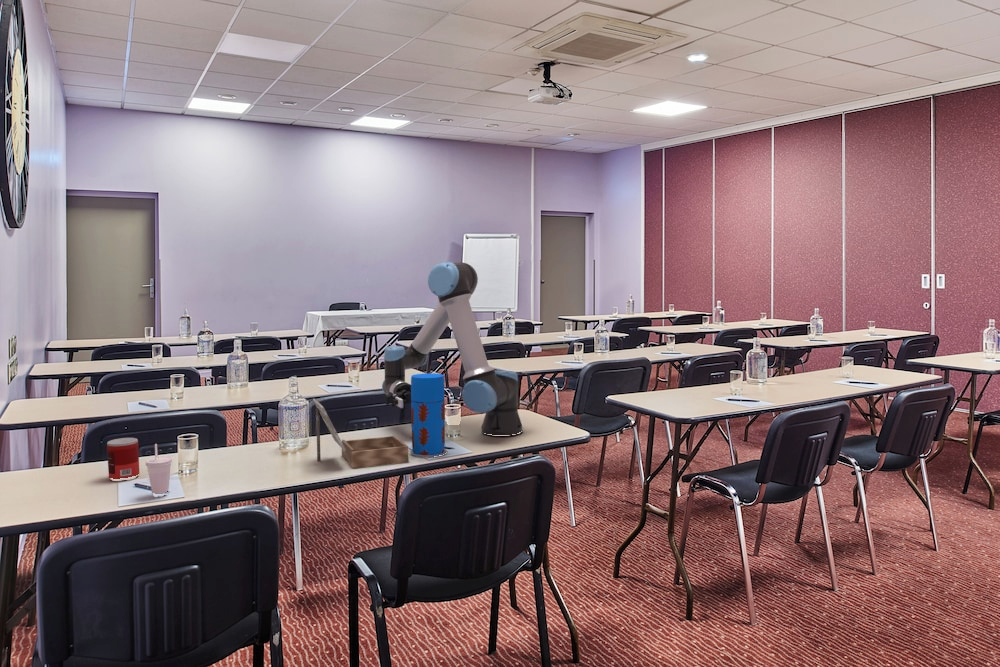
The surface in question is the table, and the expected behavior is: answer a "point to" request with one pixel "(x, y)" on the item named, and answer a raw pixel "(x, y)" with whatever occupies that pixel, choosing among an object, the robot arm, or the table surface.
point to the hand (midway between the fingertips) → (421, 402)
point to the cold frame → (364, 446)
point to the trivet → (426, 455)
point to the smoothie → (159, 473)
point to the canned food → (123, 458)
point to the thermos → (427, 414)
